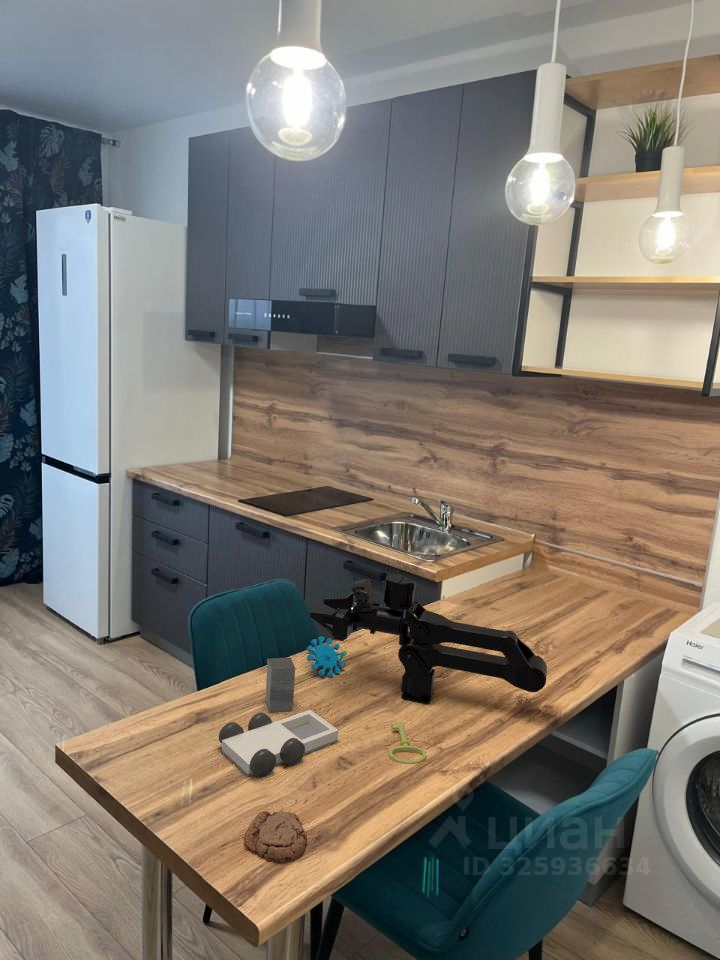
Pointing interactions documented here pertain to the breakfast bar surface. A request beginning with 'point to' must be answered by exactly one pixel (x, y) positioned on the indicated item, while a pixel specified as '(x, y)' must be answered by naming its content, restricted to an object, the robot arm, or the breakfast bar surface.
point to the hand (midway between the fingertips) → (317, 607)
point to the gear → (325, 656)
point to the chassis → (275, 741)
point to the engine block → (280, 685)
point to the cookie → (276, 836)
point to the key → (405, 747)
